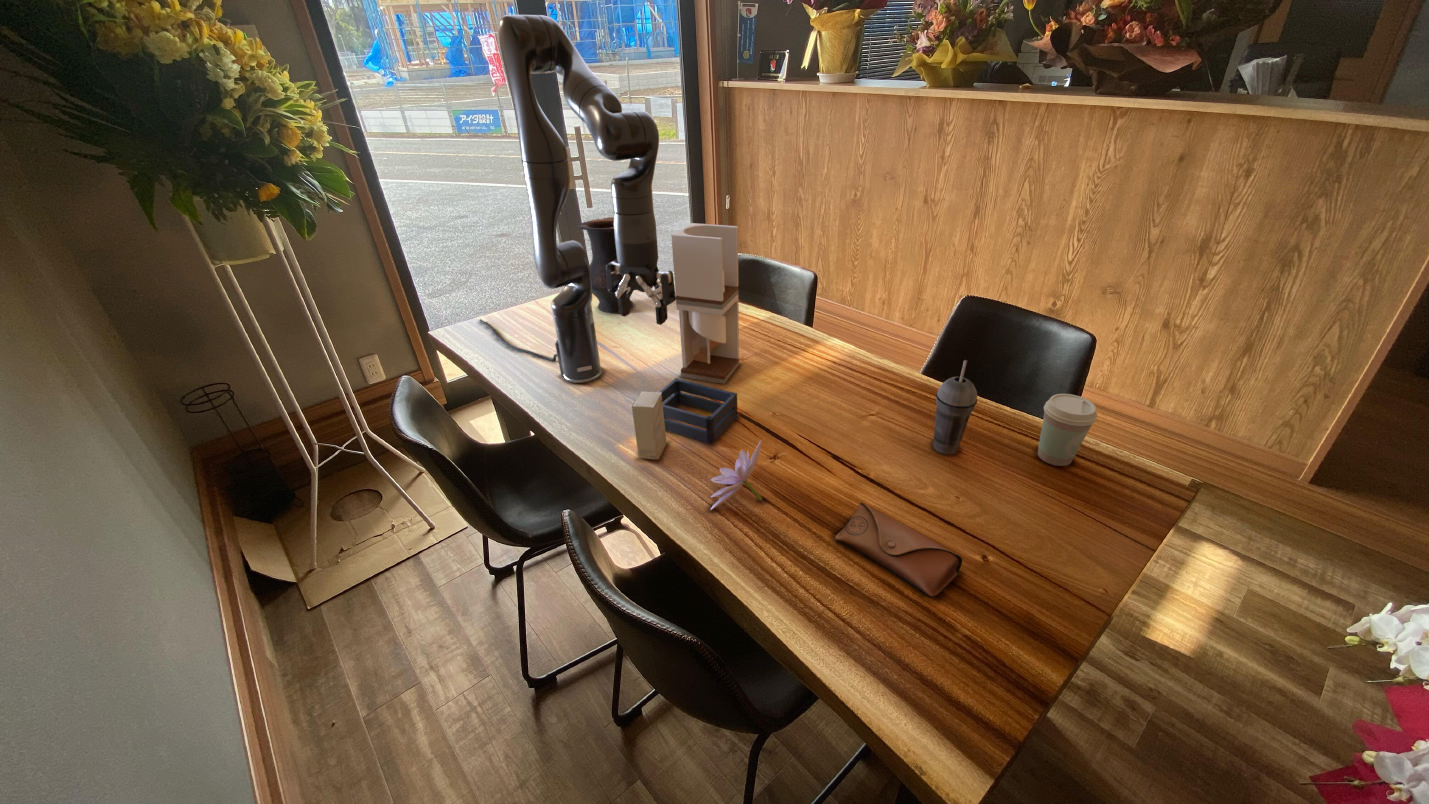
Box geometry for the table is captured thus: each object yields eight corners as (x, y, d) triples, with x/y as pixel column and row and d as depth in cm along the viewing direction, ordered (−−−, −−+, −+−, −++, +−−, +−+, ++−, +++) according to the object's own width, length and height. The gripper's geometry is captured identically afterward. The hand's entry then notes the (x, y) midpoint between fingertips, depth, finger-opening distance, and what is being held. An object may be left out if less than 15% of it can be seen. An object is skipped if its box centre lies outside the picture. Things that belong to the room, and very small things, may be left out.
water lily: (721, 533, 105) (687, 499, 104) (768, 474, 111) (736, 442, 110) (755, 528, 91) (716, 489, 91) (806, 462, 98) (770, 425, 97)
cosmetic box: (658, 460, 113) (653, 408, 106) (637, 458, 113) (630, 406, 107) (667, 442, 118) (662, 391, 112) (646, 440, 119) (640, 389, 112)
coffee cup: (1060, 476, 105) (1080, 421, 99) (1019, 452, 111) (1036, 399, 105) (1089, 462, 108) (1110, 408, 102) (1048, 439, 115) (1066, 387, 109)
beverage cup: (964, 440, 115) (986, 351, 105) (965, 461, 110) (988, 369, 99) (926, 434, 117) (944, 346, 107) (925, 454, 112) (943, 364, 101)
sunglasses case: (830, 538, 93) (845, 501, 92) (849, 534, 98) (863, 499, 97) (935, 600, 82) (954, 558, 81) (950, 592, 87) (967, 553, 86)
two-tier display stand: (681, 376, 142) (671, 235, 124) (698, 358, 150) (691, 223, 132) (724, 383, 138) (720, 239, 120) (739, 364, 146) (737, 226, 128)
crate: (648, 425, 123) (646, 402, 120) (677, 400, 132) (675, 378, 129) (711, 444, 117) (710, 419, 114) (737, 416, 125) (737, 393, 122)
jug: (576, 318, 176) (560, 219, 160) (596, 296, 191) (583, 204, 176) (642, 321, 172) (632, 219, 157) (658, 298, 188) (650, 204, 172)
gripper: (680, 235, 102) (684, 319, 111) (617, 226, 108) (625, 305, 117) (656, 246, 97) (662, 333, 106) (591, 236, 103) (602, 319, 112)
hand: (643, 319), depth 111 cm, fingers open, 8 cm apart
